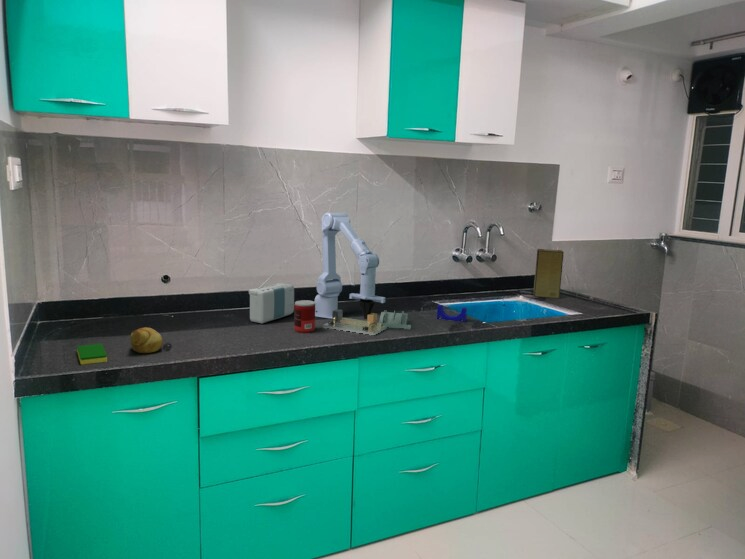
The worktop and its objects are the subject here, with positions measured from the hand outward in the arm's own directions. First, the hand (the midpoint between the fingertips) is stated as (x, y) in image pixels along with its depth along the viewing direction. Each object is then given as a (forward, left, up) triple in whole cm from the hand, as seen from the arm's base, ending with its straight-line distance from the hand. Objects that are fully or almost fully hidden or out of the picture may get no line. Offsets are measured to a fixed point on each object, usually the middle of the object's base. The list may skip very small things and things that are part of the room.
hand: (366, 318), depth 218 cm
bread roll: (-51, -62, -4) cm, 81 cm away
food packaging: (+55, +114, -4) cm, 126 cm away
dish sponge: (-59, -76, -5) cm, 97 cm away
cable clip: (+25, +33, -4) cm, 42 cm away
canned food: (-19, -15, -4) cm, 25 cm away
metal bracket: (+7, +12, -5) cm, 14 cm away
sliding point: (+3, 0, -2) cm, 3 cm away
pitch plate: (-4, -2, -4) cm, 6 cm away
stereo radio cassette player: (-40, -6, -4) cm, 41 cm away
